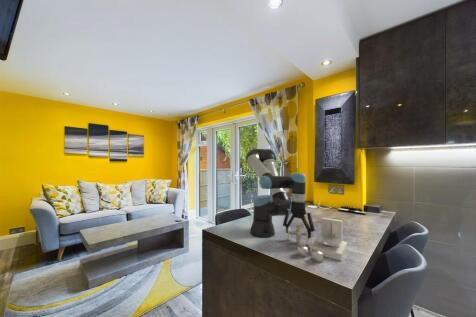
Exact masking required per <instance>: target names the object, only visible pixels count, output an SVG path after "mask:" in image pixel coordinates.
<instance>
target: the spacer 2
mask: <svg viewBox="0 0 476 317" xmlns="http://www.w3.org/2000/svg"><path fill="white" fill-rule="evenodd" d="M311 261H312V262H315V263H317V264H321V263H324V256H323V251H321V250H318V249H312V253H311Z"/></svg>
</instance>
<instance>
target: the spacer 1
mask: <svg viewBox="0 0 476 317" xmlns="http://www.w3.org/2000/svg"><path fill="white" fill-rule="evenodd" d="M296 248H297V249H296V253H297V254H296V255H297V256H298V257H299V256H300V258H308V257H309V246H307V245H306V244H298V245H297V247H296Z"/></svg>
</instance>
